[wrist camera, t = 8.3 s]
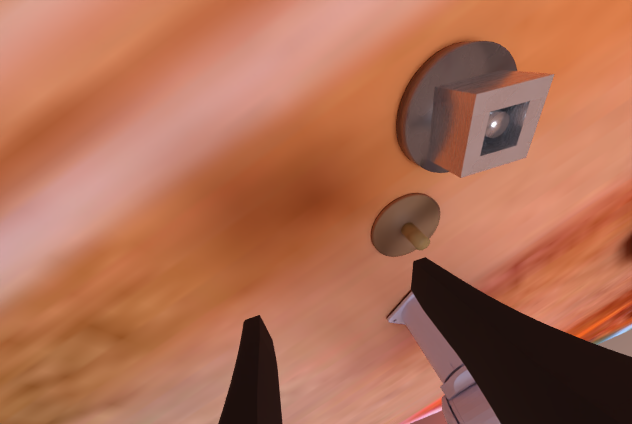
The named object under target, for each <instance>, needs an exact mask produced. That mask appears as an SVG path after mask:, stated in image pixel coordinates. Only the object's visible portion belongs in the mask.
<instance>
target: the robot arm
mask: <svg viewBox="0 0 632 424" xmlns="http://www.w3.org/2000/svg"><path fill="white" fill-rule="evenodd" d="M411 290H412V291H411V292H410V294H409V295H408V296H407V297H406V298H405V299H404V300H403V301H402V302H401V304H400V305H399V306H398V307H397V308H396V309H395V310H394V311H393V312H392V314H391V315H390V316H389V317H388V318H387V320H388V322H390V323H397V324H405V325H406V326H407V327H408V329H409V331H410V332H411V334H412V335H413V337H414V339H415V340H416V342H417V343H418V345H419V346H420V348H421V350H422V351H423V353H424V354H425V356H426V357H427V359H428V361H429V362H430V364H431V365H432V367H433V369H434V370H435V372H436V373H437V375H438V376H439V378H440V380H441V381H442V383H443V385H442V386H440V388H441V389H442V391H443V392H444V394H445V395H444V396H443V397H442V411H443V413H444V417H445V419H446V421H447V423H448V424H632V357H630V356H627V355H624V354H621V353H618V352H615V351H612V350H609V349H607V348H604V347H601V346H598V345H596V344H593V343H591V342H588V341H585V340H583V339H580V338H578V337H575V336H573V335H571V334H568V333H566V332H563V331H561V330H558V329H556V328H553V327H551V326H549V325H546V324H544V323H542V322H540V321H537V320H535V319H533V318H531V317H529V316H527V315H525V314H523V313H521V312H518V311H516V310H514V309H512V308H510V307H509V306H507V305H505V304H503V303H501V302H499V301H497V300H495V299H494V298H492V297H490V296H488V295H486V294H485V293H483V292H481V291H479V290H478V289H476V288H474V287H472V286H471V285H469V284H467V283H466V282H464V281H462V280H461V279H459V278H458V277H456V276H454V275H453V274H451V273H449V272H448V271H446V270H445V269H443V268H442V267H440V266H438V265H437V264H435V263H434V262H432V261H431V260H429V259H427V258H426V257H425V258H422V259H419V260H416V261H413V272H412V284H411ZM218 424H282V414H281V403H280V391H279V380H278V369H277V362H276V356H275V351H274V346H273V340H272V338H271V336H270V334H269V332H268V330H267V328H266V326H265V324H264V322H263V321H262V319H261V317H260V315H258V316H255V317H252V318H249V319H247V320H245V321H244V323H243V330H242V336H241V341H240V346H239V351H238V356H237V360H236V364H235V368H234V372H233V376H232V380H231V384H230V387H229V391H228V394H227V397H226V401H225V404H224V407H223V411H222V414H221V417H220V420H219V423H218Z"/></svg>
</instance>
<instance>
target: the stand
mask: <svg viewBox="0 0 632 424" xmlns="http://www.w3.org/2000/svg"><path fill="white" fill-rule="evenodd" d="M439 220H440V208H439V206H438V204H437V203H436V202H435V201H434V200H433V199H432V198H431V197H429V196H427V195H425V194H420V193H414V194H408V195H405V196H402V197H400V198H398V199H396V200H394V201H393V202H391V203H390V204H389V205H388V206H386V207H385V208H384V209H383V210H382V212H381V213H380V214H379V215H378V217H377V218H376V220H375V222H374V225H373V227H372V232H371V238H372V242H373V244H374V246H375V247H376V249H377V250H378V251H379V252H380V253H382V254H383V255H386V256H391V257H396V256H402V255H406V254H408V253H411V252H413V251H414V250H416V249H417V250H424V249H425V248H427V247H428V246H429V244H430V239H429V238H430V237H431V236H432V235H433V233H434V232H435V230H436V228H437V226H438V223H439Z"/></svg>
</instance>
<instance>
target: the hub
mask: <svg viewBox="0 0 632 424" xmlns="http://www.w3.org/2000/svg"><path fill="white" fill-rule="evenodd" d="M500 70H507V71H517V68H516V64H515V61H514V59H513V57H512V56H511V54H510V52H509V51H508V50H507V49H506V48H504V47H503V46H501V45H500V44H497V43H494V42H488V41H476V42H460V43H456V44H452V45H450V46H448V47H445V48H444V49H442V50H440V51H438V52H437V53H436V54H434V55H433V56H432V57H430V58H429V59H428V60H427V61H426V62H425V63H424V64H423V65H422V66H421V67H420V69H419V70H418V71H417V72H416V74H415V75H414V76H413V78H412V79H411V81H410V83H409V85H408V86H407V88H406V90H405V92H404V95H403V97H402V100H401V103H400V106H399V110H398V114H397V138H398V142H399V145H400V147H401V149H402V151H403V152H404V154H405V155H406V156H407V157H408V158H409V159H410V160H411V161H413V162H414V163H416V164H417V165H419V166H421V167H422V168H424V169H426V170H428V171H431V172H437V173H445V172H449V171H448V170H446V169H444V168H442V167H440V166H439V165H437V164H435V163H433V162H432V161H430V160H428V151H429V141H430V130H431V120H432V110H433V100H434V90H435V87H436V86H440V85H444V84H448V83H452V82H456V81H460V80H464V79H468V78H472V77H476V76H480V75H484V74H488V73H492V72H496V71H500ZM508 124H509V115H508V114H507V113H506V112H501V111H497V110H495V111H491V112H490V114H489V119H488V123H487V127H486V132H485V136H487V137H490V138H496V137H498V136H500V135H501V134H502V133H503V132H504V131H505V129H506V128H507V126H508Z"/></svg>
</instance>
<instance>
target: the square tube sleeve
mask: <svg viewBox="0 0 632 424" xmlns="http://www.w3.org/2000/svg"><path fill="white" fill-rule="evenodd" d="M553 77H554V74H547V73H533V72H520V71H507V70H500V71H496V72H492V73H488V74H484V75H480V76H476V77H472V78H468V79H464V80H460V81H456V82H452V83H448V84H444V85H440V86H436V87H435V90H434V100H433V110H432V120H431V130H430V141H429V151H428V160H430V161H432V162H433V163H435V164H437V165H439V166H440V167H442V168H444V169H446V170H448V171H449V172H451V173H453V174H455V175H457V176H458V177H460V178H462V177H465V176H468V175H471V174H475V173H478V172H481V171H484V170H488V169H491V168H494V167H497V166H501V165H504V164H507V163H510V162H514V161H517V160H520V159H523V158H526V156H527V153H528V150H529V147H530V144H531V141H532V138H533V135H534V133H535V130H536V127H537V124H538V121H539V118H540V115H541V112H542V109H543V106H544V103H545V100H546V97H547V94H548V91H549V88H550V85H551V82H552V80H553ZM495 110H497V111H501V112H506V113H507V114H508V115H509V124H508V126H507V128H506V129H505V131H504V132H503V133H502V134H501V135H500V136H498V137H496V138H490V137H487V136H485V132H486V127H487V123H488V119H489V114H490V112H491V111H495Z"/></svg>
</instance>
